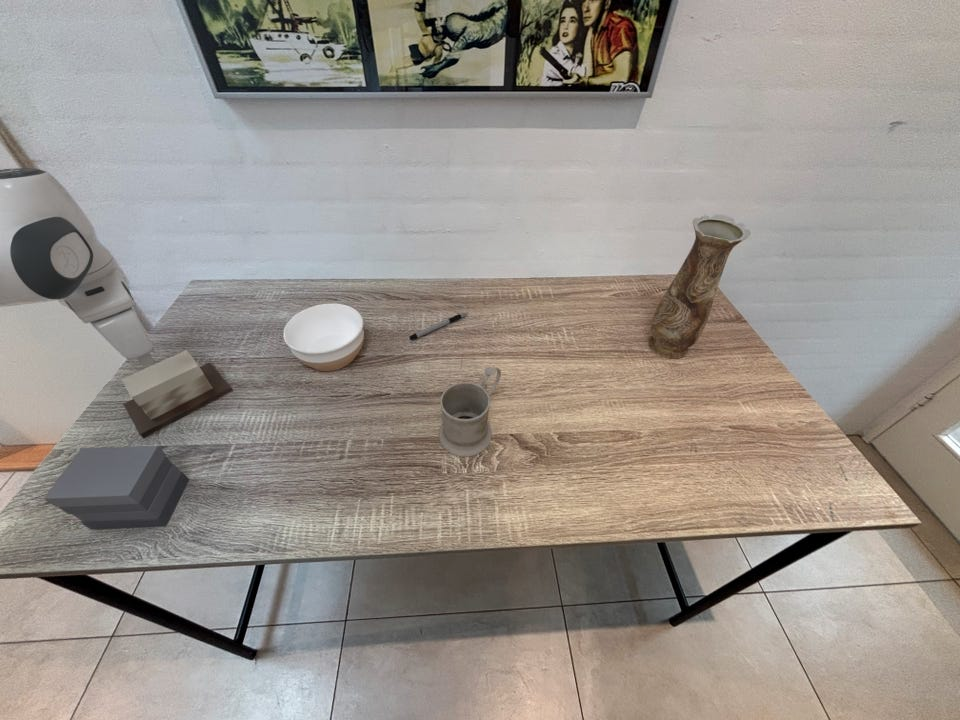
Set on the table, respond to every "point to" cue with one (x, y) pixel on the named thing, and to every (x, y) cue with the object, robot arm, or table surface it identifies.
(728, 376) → the table surface
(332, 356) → the bowl
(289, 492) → the table surface
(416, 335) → the pen
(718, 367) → the table surface
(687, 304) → the vase
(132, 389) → the white book
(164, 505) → the grey books
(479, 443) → the mug
